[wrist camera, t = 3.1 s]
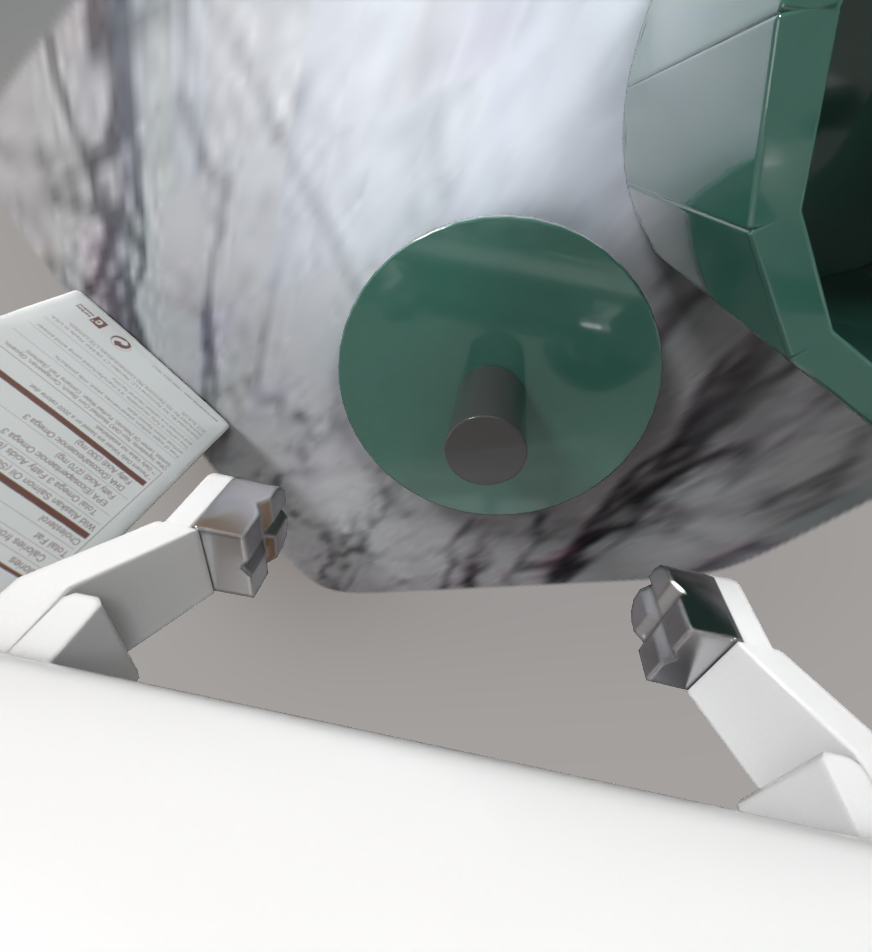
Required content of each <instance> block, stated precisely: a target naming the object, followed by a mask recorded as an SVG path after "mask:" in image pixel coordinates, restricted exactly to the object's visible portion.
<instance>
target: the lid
mask: <svg viewBox="0 0 872 952" xmlns="http://www.w3.org/2000/svg"><path fill="white" fill-rule="evenodd" d="M338 367H339V384H340V390H341V395H342V400H343V404H344V407H345V410H346V413H347V416H348V419H349V421H350V424H351V426H352V428H353V430H354V432H355V434H356V436H357V437H358V439H359V441H360V442H361V444H362V445H363V447H364V448H365V450H366V451H367V452H368V454H369V455H370V456H371V457H372V459H373V460H374V461H375V462H376V463H377V464H378V465H379V466H380V467H381V468H382V469H383V470H384V471H385V472H386V473H387V474H388V475H389V476H390V477H392V478H393V479H394V480H395V481H397V482H398V483H399V484H401V485H402V486H404V487H405V488H407V489H408V490H410V491H412V492H413V493H415V494H417V495H419V496H421V497H423V498H425V499H427V500H429V501H431V502H434V503H436V504H439V505H442V506H444V507H448V508H451V509H455V510H459V511H463V512H469V513H476V514H486V515H513V514H520V513H528V512H533V511H537V510H542V509H546V508H549V507H552V506H555V505H558V504H561V503H563V502H566V501H568V500H570V499H572V498H574V497H576V496H579V495H581V494H582V493H584V492H586V491H587V490H589V489H590V488H592V487H594V486H595V485H597V484H598V483H599V482H601V481H602V480H603V479H605V478H606V477H607V476H608V475H610V474H611V473H612V472H613V471H614V470H615V469H616V468H617V467H618V466H619V465H620V464H621V463H622V462H623V461H624V460H625V459H626V458H627V456H628V455H629V454H630V452H631V451H632V450H633V449H634V447H635V446H636V445H637V443H638V441H639V440H640V438H641V436H642V435H643V433H644V431H645V430H646V428H647V426H648V423H649V421H650V419H651V416H652V414H653V412H654V409H655V405H656V402H657V398H658V395H659V391H660V383H661V375H662V350H661V344H660V338H659V333H658V328H657V325H656V322H655V319H654V316H653V314H652V311H651V308H650V306H649V304H648V302H647V300H646V298H645V297H644V295H643V293H642V291H641V290H640V288H639V286H638V285H637V283H636V282H635V281H634V280H633V278H632V277H631V276H630V275H629V273H628V272H627V271H626V270H625V268H624V267H623V266H622V265H621V264H620V263H619V262H618V261H617V260H616V259H615V258H614V257H613V256H612V255H611V254H609V253H608V252H607V251H606V250H605V249H604V248H603V247H601V246H600V245H598V244H597V243H595V242H594V241H592V240H591V239H589V238H588V237H586V236H585V235H583V234H581V233H579V232H577V231H574V230H572V229H570V228H568V227H565V226H563V225H561V224H558V223H555V222H551V221H547V220H544V219H540V218H536V217H530V216H521V215H512V214H500V215H482V216H476V217H471V218H466V219H460V220H457V221H454V222H451V223H448V224H445V225H443V226H440V227H437V228H435V229H433V230H431V231H429V232H427V233H425V234H423V235H421V236H419V237H417V238H415V239H414V240H412V241H411V242H409V243H408V244H407V245H405V246H404V247H403V248H401V249H400V250H398V251H397V252H396V253H394V254H393V255H392V256H391V257H390V258H389V259H388V260H387V261H386V262H385V263H384V264H383V265H382V266H381V267H380V268H379V269H378V270H377V271H376V272H375V273H374V274H373V276H372V277H371V278H370V280H369V281H368V282H367V284H366V285H365V286H364V287H363V289H362V290H361V292H360V294H359V296H358V298H357V299H356V301H355V303H354V305H353V307H352V308H351V311H350V314H349V316H348V319H347V322H346V324H345V327H344V331H343V335H342V340H341V344H340V353H339V365H338Z"/></svg>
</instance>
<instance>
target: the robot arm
mask: <svg viewBox="0 0 872 952" xmlns="http://www.w3.org/2000/svg"><path fill="white" fill-rule="evenodd" d="M285 502H286V498H285V490H284V489H282V488H281V487H278V486H273V485H269V484H265V483H260V482H256V481H251V480H247V479H243V478H238V477H232V476H227V475H223V474H219V473H212V474H209V475H207V476H206V477H205V478H204V480H203V481H202V482H201V483H200V484H199V485H198V486H197V487H196V488H195V489H194V490H193V491H192V493H191V494H190V495H189V496H188V497H187V498H186V499H185V500H184V501H183V502H182V503H181V504H180V506H179V507H178V508H177V509H176V510H175V511H174V512H173V513H172V514H171V515H170V516H169V518H168V519H167V520H166V521H165V522H160V521H156V522H153V523H151V524H148V525H146V526H143V527H141V528H138V529H136V530H134V531H131V532H129V533H126V534H124V535H121V536H119V537H116V538H114V539H112V540H109V541H107V542H104V543H102V544H99V545H97V546H94V547H92V548H89V549H87V550H85V551H82V552H80V553H77V554H75V555H72V556H70V557H67V558H65V559H63V560H60V561H58V562H55V563H53V564H50V565H48V566H45V567H43V568H41V569H38V570H36V571H33V572H31V573H28V574H26V575H23V576H21V577H19V578H17V579H16V580H15V581H14V582H13V583H11V584H10V585H9V586H8V587H7V588H6V589H5V590H3V591H2V592H1V593H0V952H872V731H871V730H870V729H868V727H867V726H865V725H864V724H863V723H862V722H861V721H860V720H859V719H857V718H856V717H855V716H854V715H853V714H852V713H851V712H850V711H848V710H847V709H846V708H845V707H844V706H843V705H842V704H840V703H839V702H838V701H837V700H836V699H835V698H834V697H833V696H832V695H830V694H829V693H828V692H827V691H826V690H825V689H823V688H822V687H821V686H820V685H819V684H818V683H817V682H816V681H815V680H813V679H812V678H811V677H810V676H809V675H808V674H807V673H806V672H804V671H803V670H802V669H801V668H800V667H799V666H798V665H797V664H795V663H794V662H793V661H792V660H791V659H790V658H789V657H787V656H786V655H785V654H784V653H783V652H782V651H780V650H776V649H773V648H772V646H771V644H770V642H769V640H768V638H767V637H766V634H765V633H764V631H763V629H762V627H761V625H760V623H759V621H758V619H757V617H756V615H755V614H754V611H753V609H752V608H751V606H750V604H749V602H748V600H747V598H746V596H745V594H744V592H743V590H742V589H741V586H740V585H739V584H738V583H737V582H736V581H735V580H734V579H731V578H725V577H720V576H715V575H710V574H708V575H707V574H704V573H699V572H693V571H688V570H683V569H678V568H673V567H668V566H663V565H660V566H658V567H656V568H655V569H654V570H653V571H652V573H651V574H650V575H649V578H650V581H651V585H649V586H647V587H644V588H642V589H640V590H639V592H638V593H637V595H636V596H635V598H634V600H633V605H632V610H631V619H632V625H633V630H634V632H635V633H636V634H637V636H638V637H639V638H640V639H641V640H642V641H643V644H642V646H641V647H640V649H639V653H640V658H641V661H642V665H643V670H644V673H645V677H646V680H648V681H652V682H656V683H661V684H664V685H669V686H673V687H677V688H681V689H686V690H688V691H687V693H688V695H689V696H690V697H691V699H692V700H693V701H694V703H695V704H696V705H697V707H698V708H699V709H700V711H701V712H702V713H703V715H704V716H705V717H706V719H707V720H708V721H709V723H710V724H711V726H712V727H713V728H714V730H715V731H716V732H717V734H718V735H719V737H720V738H721V739H722V741H723V742H724V743H725V745H726V746H727V747H728V749H729V750H730V751H731V753H732V754H733V755H734V757H735V758H736V760H737V761H738V762H739V764H740V765H741V766H742V768H743V769H744V770H745V772H746V773H747V774H748V776H749V777H750V779H751V780H752V781H753V783H754V784H755V785H756V787H757V788H758V790H757V791H755V792H753V793H751V794H750V795H748V796H746V797H745V798H743V799H741V801H740V802H739V803H738V805H737V808H738V810H733V809H729V808H724V807H719V806H715V805H710V804H705V803H700V802H696V801H691V800H687V799H682V798H678V797H673V796H668V795H664V794H659V793H654V792H650V791H645V790H640V789H636V788H631V787H626V786H621V785H617V784H612V783H608V782H603V781H598V780H594V779H589V778H585V777H580V776H575V775H570V774H565V773H561V772H557V771H552V770H547V769H543V768H538V767H533V766H529V765H524V764H519V763H515V762H510V761H505V760H500V759H496V758H492V757H486V756H482V755H477V754H473V753H468V752H463V751H459V750H454V749H450V748H445V747H440V746H435V745H431V744H426V743H422V742H417V741H412V740H408V739H403V738H398V737H393V736H389V735H384V734H380V733H375V732H370V731H366V730H361V729H356V728H352V727H347V726H342V725H337V724H333V723H328V722H324V721H319V720H314V719H309V718H305V717H300V716H295V715H291V714H286V713H281V712H277V711H272V710H268V709H263V708H258V707H253V706H249V705H244V704H240V703H235V702H230V701H225V700H221V699H216V698H212V697H207V696H202V695H198V694H193V693H188V692H184V691H178V690H174V689H170V688H165V687H160V686H156V685H151V684H146V683H142V682H137V680H138V679H139V675H138V671H137V668H136V667H135V665H134V663H133V661H132V659H131V657H130V655H129V653H128V651H129V650H131V649H132V648H134V647H135V646H137V645H138V644H139V643H141V642H143V641H144V640H145V639H147V638H148V637H150V636H151V635H153V634H154V633H156V632H157V631H159V630H160V629H162V628H163V627H165V626H166V625H167V624H169V623H170V622H172V621H173V620H175V619H176V618H178V617H179V616H181V615H182V614H184V613H185V612H186V611H188V610H189V609H191V608H192V607H194V606H195V605H197V604H198V603H200V602H201V601H203V600H204V599H206V598H207V597H208V596H210V595H211V594H213V593H214V591H220V592H225V593H231V594H236V595H242V596H247V597H253V598H254V597H255V595H256V593H257V592H258V590H259V588H260V586H261V584H262V583H263V581H264V579H265V578H266V576H267V574H268V569H267V563H268V562H269V561H271V560H273V559H275V558H277V556H278V554H279V553H280V551H281V549H282V547H283V544H284V541H285V538H286V535H287V526H288V523H287V516H286V515H285V513H284V512H283V511H282V510H281V509H282V507H283V505H284V504H285Z"/></svg>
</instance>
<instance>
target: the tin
mask: <svg viewBox="0 0 872 952" xmlns="http://www.w3.org/2000/svg"><path fill="white" fill-rule="evenodd" d="M623 154H624V169H625V174H626V182H627V184H628V190H629V195H630V197H631V200H632V203H633V206H634V209H635V212H636V215H637V218H638V220H639V222H640V224H641V225H642V227H643V229H644V231H645V233H646V235H647V237H648V239H649V240H650V242H651V244H652V246H653V249H654V251H655V252H657V255H658V256H660V257H661V258H662V259H663V260H664V261H666V262H667V263H668V264H669V265H671V266H672V267H673V268H674V269H676V270H677V271H678V272H679V273H681V274H682V275H683V276H684V277H686V278H687V279H688V280H689V281H690V282H692V283H693V284H694V285H695V286H697V287H698V288H699V289H700V290H702V291H703V292H704V293H705V294H707V295H708V296H709V297H710V298H712V299H713V300H714V301H715V302H716V303H718V304H719V305H720V306H721V307H723V308H724V309H725V310H726V311H728V312H729V313H730V314H731V315H733V316H734V317H735V318H736V319H738V320H739V321H740V322H741V323H742V324H744V325H745V326H746V327H747V328H749V329H750V330H751V331H752V332H754V333H755V334H756V335H757V336H759V337H760V338H761V339H762V340H764V341H765V342H766V343H767V344H768V345H770V346H771V347H772V348H773V349H775V350H776V351H777V352H778V353H780V354H781V355H782V356H783V357H785V358H786V359H787V360H788V361H790V362H791V363H792V364H793V365H795V366H796V367H797V368H798V369H800V370H801V371H802V372H803V373H805V374H806V375H807V376H808V377H810V378H811V379H812V380H813V381H815V382H816V383H817V384H819V385H820V386H821V387H822V388H824V389H825V390H826V391H827V392H829V393H830V394H831V395H832V396H834V397H835V398H836V399H837V400H839V401H840V402H841V403H842V404H844V405H845V406H846V407H847V408H849V409H850V410H851V411H853V412H854V413H855V414H856V415H858V416H859V417H860V418H861V419H863V420H864V421H865V422H866V423H868V424H869V425H870V426H871V427H872V0H651V3H650V6H649V9H648V12H647V14H646V17H645V20H644V23H643V25H642V28H641V31H640V34H639V38H638V42H637V46H636V49H635V53H634V57H633V61H632V65H631V69H630V73H629V80H628V84H627V90H626V99H625V105H624V121H623Z"/></svg>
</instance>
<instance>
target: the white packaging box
mask: <svg viewBox="0 0 872 952" xmlns="http://www.w3.org/2000/svg"><path fill="white" fill-rule="evenodd" d="M228 428H229V425H228V423H227V422H226V421H225V420H224V419H223V418H222V417H221V416H220V415H219V414H218V413H217V412H216V411H215V410H214V409H213V408H212V407H210V406H209V405H208V404H207V403H206V402H205V401H204V400H203V399H201V398H200V397H199V396H198V395H197V394H196V393H195V392H194V391H193V390H192V389H190V388H189V387H188V386H187V385H186V384H185V383H184V382H183V381H181V380H180V379H179V378H178V377H177V376H176V375H175V374H174V373H172V372H171V371H170V370H169V369H168V368H167V367H166V366H165V365H164V364H162V363H161V362H160V361H159V360H158V359H157V358H156V357H155V356H154V355H152V354H151V353H150V352H149V351H148V350H147V349H146V348H144V347H143V346H142V345H141V344H140V343H139V342H138V341H137V340H136V339H135V338H133V337H132V336H131V335H130V334H129V333H128V332H127V331H126V330H124V329H123V328H122V327H121V326H120V325H119V324H118V323H116V322H115V321H114V320H113V319H112V318H111V317H109V316H108V315H107V314H106V313H105V312H104V311H103V310H102V309H100V308H99V307H98V306H97V305H96V304H95V303H94V302H92V301H91V300H90V299H89V298H88V297H87V296H85V295H84V294H83V293H81V292H80V291H71V292H68V293H66V294H63V295H60V296H57V297H54V298H51V299H48V300H45V301H42V302H39V303H36V304H33V305H30V306H27V307H24V308H21V309H18V310H16V311H13V312H10V313H7V314H5V315H2V316H0V593H1V592H2V591H3V590H5V589H6V588H7V587H8V586H9V585H10V584H11V583H13V582H14V581H15V580H16V579H17V578H19V577H21V576H23V575H26V574H28V573H31V572H33V571H36V570H38V569H41V568H43V567H45V566H48V565H50V564H53V563H55V562H58V561H60V560H63V559H65V558H67V557H70V556H72V555H75V554H77V553H80V552H82V551H85V550H87V549H89V548H92V547H94V546H97V545H99V544H102V543H104V542H107V541H109V540H112V539H114V538H116V537H119V536H121V535H124V534H125V533H126V531H128V529H129V528H130V527H131V526H132V525H133V524H134V523H135V522H136V521H137V520H138V519H139V518H140V517H141V516H142V515H143V514H144V513H145V512H146V511H147V510H148V509H149V508H150V507H151V506H152V505H153V504H154V503H155V502H156V501H157V500H158V499H159V498H160V497H161V496H162V495H163V494H164V493H165V492H166V491H167V490H168V489H169V488H170V487H171V486H172V485H173V484H174V483H175V482H176V481H177V480H178V479H179V478H180V477H181V476H182V475H183V474H184V473H185V472H186V471H187V470H188V469H189V467H191V465H192V464H193V463H194V462H195V461H196V460H197V459H198V458H199V457H200V456H201V455H202V454H203V453H204V452H205V451H206V450H207V449H208V448H209V447H210V446H211V445H212V444H213V443H214V442H215V441H216V440H217V439H218V438H219V437H220V436H221V435H222V434H223V433H224V432H225V431H226V430H227V429H228Z"/></svg>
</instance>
